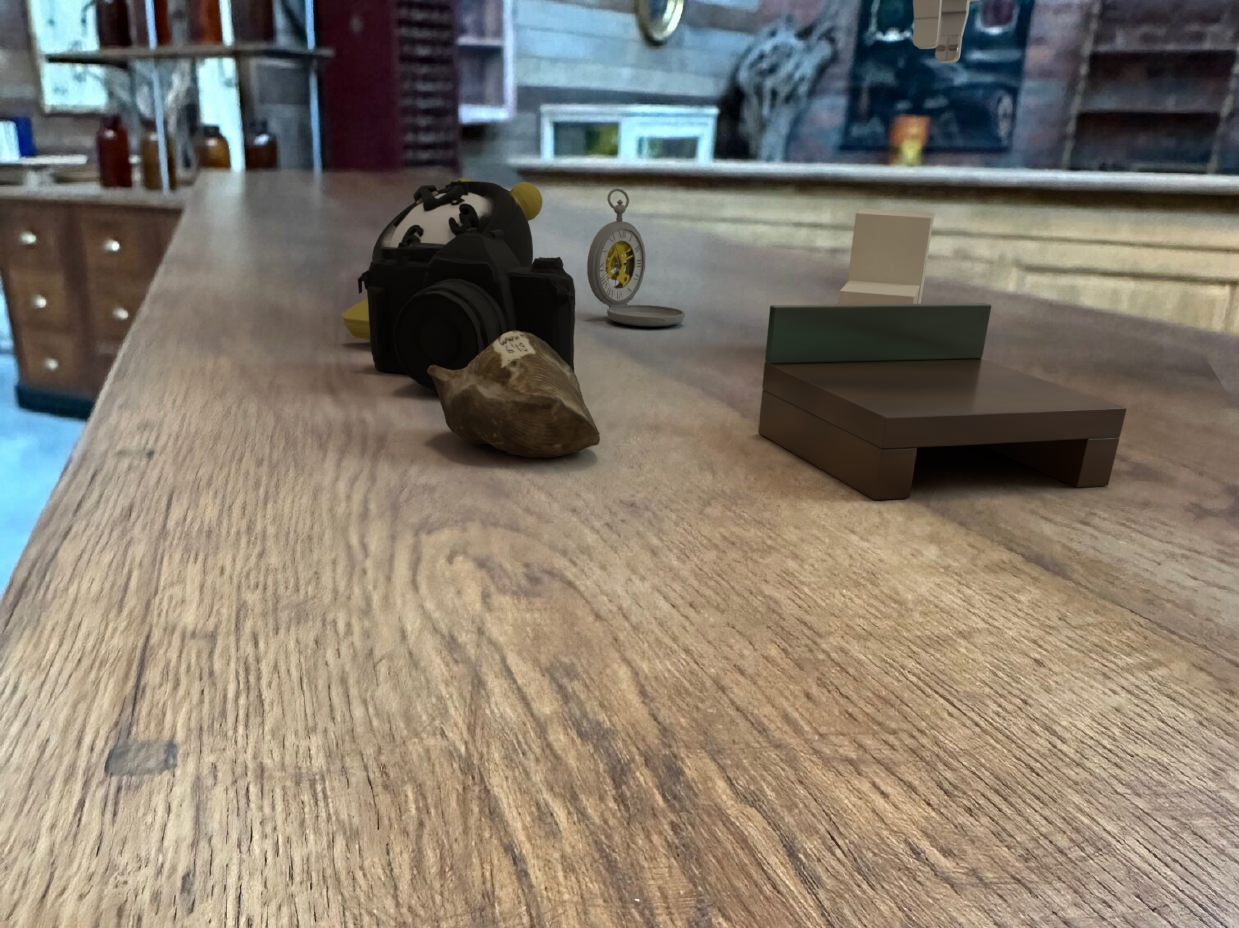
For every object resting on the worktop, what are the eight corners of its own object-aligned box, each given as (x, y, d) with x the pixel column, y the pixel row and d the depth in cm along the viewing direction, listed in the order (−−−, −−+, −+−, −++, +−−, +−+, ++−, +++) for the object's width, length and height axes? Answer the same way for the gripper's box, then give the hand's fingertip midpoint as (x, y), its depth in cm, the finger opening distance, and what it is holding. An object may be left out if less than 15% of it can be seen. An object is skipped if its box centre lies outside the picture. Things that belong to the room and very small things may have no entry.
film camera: (319, 385, 78) (306, 230, 73) (388, 360, 86) (379, 218, 81) (541, 409, 74) (542, 248, 70) (591, 381, 82) (595, 234, 78)
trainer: (842, 347, 98) (859, 208, 93) (915, 353, 97) (937, 212, 91) (825, 372, 88) (843, 219, 83) (906, 379, 87) (929, 224, 82)
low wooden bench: (757, 433, 71) (769, 304, 68) (962, 424, 76) (984, 302, 72) (874, 500, 60) (896, 351, 57) (1108, 485, 64) (1143, 345, 61)
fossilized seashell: (390, 391, 66) (485, 465, 60) (451, 278, 64) (555, 343, 58) (487, 447, 72) (582, 519, 66) (546, 345, 70) (649, 410, 64)
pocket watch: (679, 332, 101) (687, 196, 96) (579, 325, 102) (582, 191, 97) (689, 317, 108) (698, 190, 103) (596, 311, 109) (600, 185, 104)
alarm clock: (356, 377, 99) (358, 183, 97) (536, 387, 100) (541, 196, 98) (335, 333, 87) (337, 112, 85) (540, 345, 88) (545, 128, 87)
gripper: (981, -216, 79) (956, 35, 86) (1018, -138, 96) (995, 67, 102) (885, -203, 82) (867, 40, 88) (938, -129, 99) (920, 70, 105)
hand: (936, 55), depth 95 cm, fingers open, 8 cm apart
